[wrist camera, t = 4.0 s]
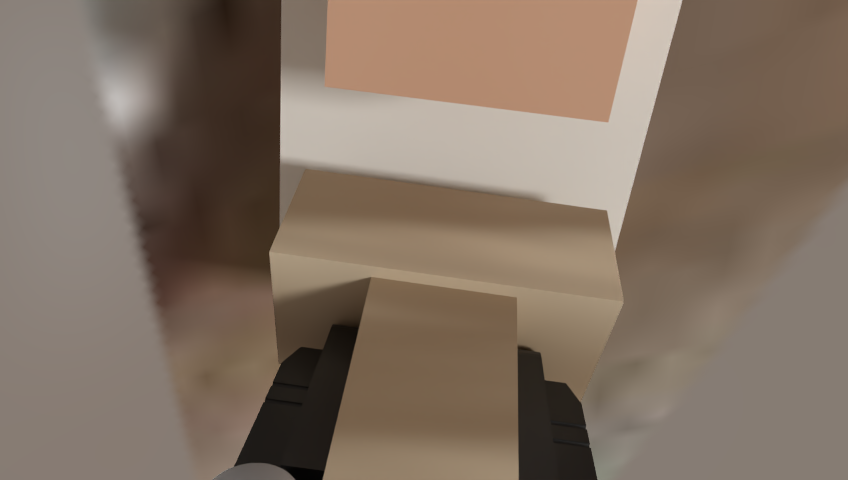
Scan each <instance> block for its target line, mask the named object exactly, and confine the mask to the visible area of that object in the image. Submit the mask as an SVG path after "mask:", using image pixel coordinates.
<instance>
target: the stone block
mask: <svg viewBox="0 0 848 480" xmlns="http://www.w3.org/2000/svg"><path fill="white" fill-rule="evenodd" d="M637 1H638V0H328V8H327V34H326V60H325V86H324V87H331V88H339V89H347V90H355V91H363V92H371V93H378V94H386V95H394V96H402V97H410V98H418V99H426V100H434V101H442V102H450V103H458V104H466V105H474V106H481V107H489V108H497V109H505V110H513V111H521V112H529V113H537V114H545V115H553V116H561V117H569V118H576V119H584V120H592V121H600V122H609V118H610V113H611V109H612V105H613V101H614V97H615V93H616V88H617V84H618V80H619V76H620V72H621V68H622V63H623V59H624V55H625V51H626V47H627V43H628V38H629V34H630V30H631V26H632V22H633V18H634V13H635V9H636V5H637Z"/></svg>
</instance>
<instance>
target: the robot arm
mask: <svg viewBox="0 0 848 480" xmlns="http://www.w3.org/2000/svg"><path fill="white" fill-rule="evenodd" d="M358 330H359V327H352V326H345V325H337V324H333V325H332V327H331V329H330V332H329V334H328V337H327V340H326V342H325V345H324V348H323V350H322V349H314V348H307V347H300V348H299V349H297V350H296V351H295V352H294V353H293V354H291V355H290V356H289V357H288V358H286V359H285V360H284V361H283V362H282V363H281V365H280V368H279V370H278V372H277V374H276V376H275V379H274V381H273V385H272V386H271V387H270V389H269V392H268V394H267V396H266V398H265V403H263V405H262V407H261V409H260V411H259V413H258V416H257V418H256V420H255V422H254V424H253V427H252V429H251V431H250V433H249V435H248V437H247V440H246V442H245V444H244V446H243V448H242V451H241V453H240V455H239V457H238V459H237V462H236V464H235V465H234V467H232V468H230V469H228V470H226V471H224V472H222V473H221V474H219V475H218V476H216V477H215V478H214V479H213V480H323V476H324V472H325V468H326V463H327V459H328V455H329V451H330V447H331V443H332V438H333V434H334V430H335V426H336V422H337V418H338V414H339V409H340V405H341V401H342V397H343V393H344V389H345V384H346V380H347V376H348V372H349V368H350V364H351V359H352V355H353V351H354V347H355V343H356V339H357V335H358ZM517 354H518V458H519V480H597V476H596V471H595V466H594V462H593V457H592V452H591V448H589V444H590V443H589V438H588V433H587V430H586V424H585V419H584V414H583V409H582V405H581V402H580V401H579V400H578V398H577V397H576V396H575V394H574V393H573V392H572V390H571V389H570V388H569V386H568V385H567V384H566V383H562V382H554V381H547V380H545V379H544V372H543V364H542V357H541V353H540V352H535V351H528V350H520V349H517Z"/></svg>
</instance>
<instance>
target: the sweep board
mask: <svg viewBox="0 0 848 480" xmlns="http://www.w3.org/2000/svg"><path fill="white" fill-rule="evenodd" d="M681 3H682V0H638V1H637V5H636V9H635V13H634V18H633V22H632V26H631V30H630V34H629V38H628V43H627V47H626V51H625V55H624V59H623V63H622V68H621V72H620V76H619V80H618V84H617V88H616V93H615V97H614V101H613V105H612V109H611V113H610V118H609V122H600V121H592V120H584V119H576V118H569V117H561V116H553V115H545V114H537V113H529V112H521V111H513V110H505V109H497V108H489V107H481V106H474V105H466V104H458V103H450V102H442V101H434V100H426V99H418V98H410V97H402V96H394V95H386V94H378V93H371V92H363V91H355V90H347V89H339V88H331V87H324V86H325V60H326V34H327V8H328V0H281V112H280V226H281V223H282V221H283V219H284V217H285V214H286V212H287V210H288V207H289V205H290V203H291V200H292V198H293V196H294V194H295V191H296V189H297V187H298V184H299V182H300V180H301V177H302V175H303V173H304V171H305V169H311V170H319V171H326V172H333V173H340V174H347V175H355V176H362V177H369V178H376V179H383V180H391V181H398V182H405V183H412V184H420V185H427V186H434V187H441V188H448V189H456V190H463V191H470V192H477V193H485V194H492V195H499V196H506V197H513V198H521V199H528V200H535V201H542V202H549V203H557V204H564V205H571V206H578V207H586V208H593V209H600V210H607V213H608V219H609V224H610V229H611V235H612V240H613V246H614V251H615V248H616V245H617V241H618V237H619V234H620V230H621V226H622V222H623V219H624V215H625V211H626V208H627V204H628V200H629V196H630V193H631V189H632V185H633V182H634V178H635V174H636V170H637V167H638V163H639V159H640V156H641V152H642V148H643V144H644V141H645V137H646V133H647V130H648V126H649V122H650V118H651V115H652V111H653V107H654V104H655V100H656V96H657V92H658V89H659V85H660V81H661V78H662V74H663V70H664V66H665V63H666V59H667V55H668V51H669V48H670V44H671V40H672V37H673V33H674V29H675V25H676V22H677V18H678V14H679V11H680V7H681Z"/></svg>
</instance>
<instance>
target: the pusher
mask: <svg viewBox="0 0 848 480" xmlns="http://www.w3.org/2000/svg"><path fill="white" fill-rule="evenodd" d="M269 256H270V267H271V279H272V291H273V302H274V314H275V326H276V337H277V349H278V361H279V364H281V363H282V362H283V361H284V360H285V359H286V358H288V357H289V356H290V355H291V354H293V353H294V352H295V351H296V350H297V349H299V348H300V347H307V348H314V349H322V350H323V348H324V345H325V342H326V340H327V337H328V334H329V332H330V329H331V327H332V325H333V324H337V325H345V326H352V327H359V330H358V335H357V339H356V343H355V347H354V351H353V355H352V359H351V364H350V368H349V372H348V376H347V380H346V384H345V389H344V393H343V397H342V401H341V405H340V409H339V414H338V418H337V422H336V426H335V430H334V434H333V438H332V443H331V447H330V451H329V455H328V459H327V463H326V468H325V472H324V476H323V480H519V458H518V354H517V349H520V350H528V351H535V352H540V353H541V357H542V364H543V372H544V379H545V380H547V381H554V382H562V383H566V384H567V385H568V386H569V388H570V389H571V390H572V392H573V393H574V394H575V396H576V397H577V398H578V400H579V401H580V402H581V400H582V398H583V395H584V393H585V391H586V389H587V386H588V384H589V382H590V379H591V377H592V375H593V372H594V370H595V368H596V365H597V363H598V361H599V358H600V356H601V354H602V351H603V349H604V347H605V345H606V342H607V340H608V338H609V335H610V333H611V331H612V328H613V326H614V324H615V321H616V319H617V317H618V314H619V312H620V310H621V307H622V305H623V303H624V299H623V294H622V289H621V283H620V278H619V272H618V267H617V262H616V256H615V251H614V246H613V240H612V235H611V229H610V224H609V219H608V213H607V210H600V209H593V208H586V207H578V206H571V205H564V204H557V203H549V202H542V201H535V200H528V199H521V198H513V197H506V196H499V195H492V194H485V193H477V192H470V191H463V190H456V189H448V188H441V187H434V186H427V185H420V184H412V183H405V182H398V181H391V180H383V179H376V178H369V177H362V176H355V175H347V174H340V173H333V172H326V171H319V170H311V169H305V171H304V173H303V175H302V177H301V180H300V182H299V184H298V187H297V189H296V191H295V194H294V196H293V198H292V200H291V203H290V205H289V207H288V210H287V212H286V214H285V217H284V219H283V221H282V223H281V226H280V228H279V230H278V233H277V235H276V237H275V240H274V242H273V244H272V246H271V249H270V251H269Z"/></svg>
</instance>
